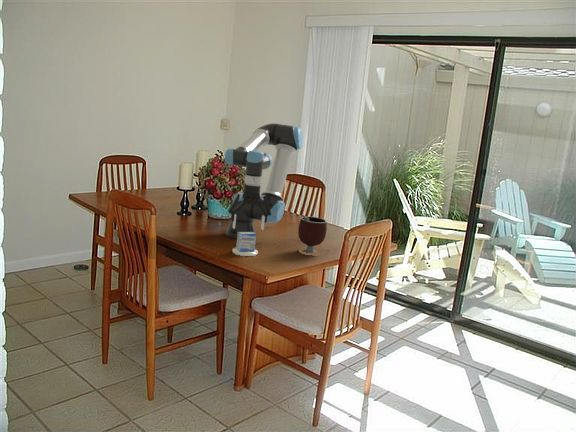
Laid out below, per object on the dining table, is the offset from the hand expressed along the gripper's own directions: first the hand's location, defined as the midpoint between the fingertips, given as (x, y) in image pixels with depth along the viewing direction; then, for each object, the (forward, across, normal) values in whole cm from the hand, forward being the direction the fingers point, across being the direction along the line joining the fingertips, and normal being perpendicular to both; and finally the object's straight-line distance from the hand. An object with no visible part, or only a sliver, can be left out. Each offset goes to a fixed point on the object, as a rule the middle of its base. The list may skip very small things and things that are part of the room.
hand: (248, 228), depth 262 cm
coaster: (+12, 0, -1) cm, 12 cm away
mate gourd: (+12, +33, +4) cm, 35 cm away
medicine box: (+11, 0, 0) cm, 11 cm away
